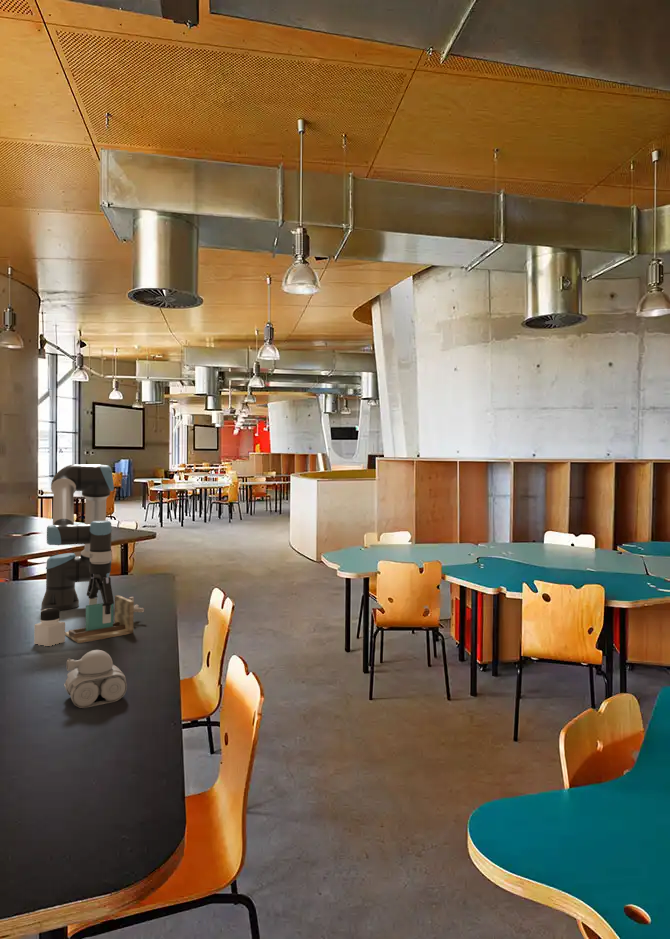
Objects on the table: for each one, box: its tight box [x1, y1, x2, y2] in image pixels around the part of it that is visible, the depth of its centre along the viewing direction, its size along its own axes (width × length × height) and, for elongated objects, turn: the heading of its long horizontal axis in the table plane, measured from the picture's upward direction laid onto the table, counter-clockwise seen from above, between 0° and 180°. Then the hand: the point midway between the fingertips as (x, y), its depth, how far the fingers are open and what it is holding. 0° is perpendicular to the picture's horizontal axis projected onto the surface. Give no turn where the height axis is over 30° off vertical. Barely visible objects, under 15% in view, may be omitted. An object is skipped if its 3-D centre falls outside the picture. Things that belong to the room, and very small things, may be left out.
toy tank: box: [63, 649, 128, 709], centre depth 156 cm, size 15×11×13 cm
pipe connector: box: [128, 596, 145, 613], centre depth 234 cm, size 10×10×10 cm
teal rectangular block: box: [85, 602, 114, 631], centre depth 217 cm, size 3×9×10 cm, turn 133°
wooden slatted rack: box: [65, 594, 135, 644], centre depth 217 cm, size 14×20×12 cm
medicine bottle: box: [33, 608, 66, 647], centre depth 205 cm, size 7×7×12 cm
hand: (99, 619), depth 217 cm, fingers open, 13 cm apart
